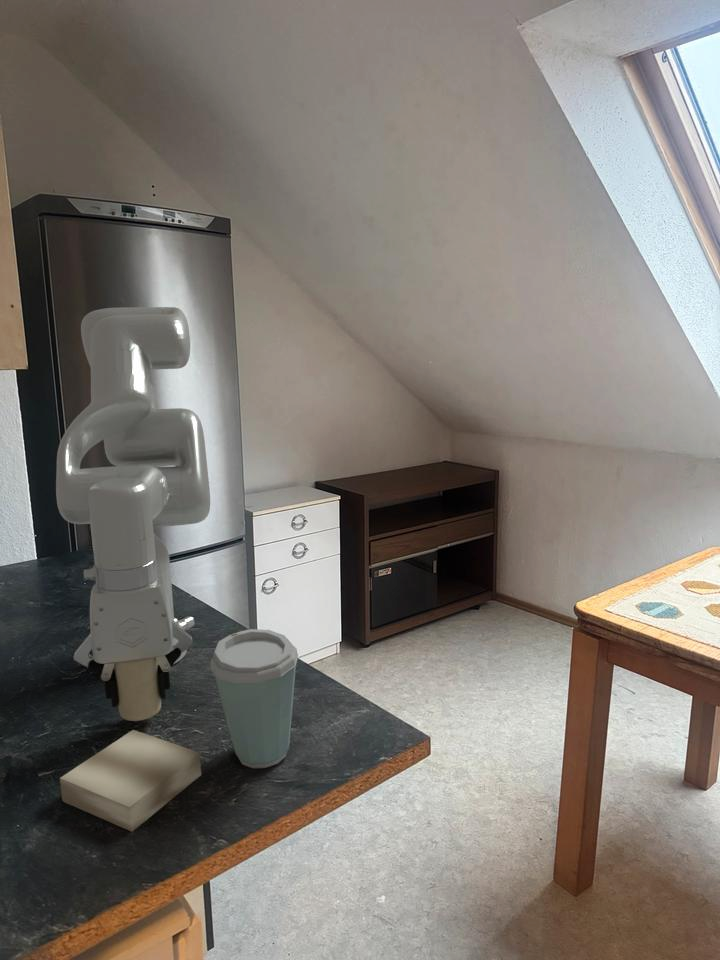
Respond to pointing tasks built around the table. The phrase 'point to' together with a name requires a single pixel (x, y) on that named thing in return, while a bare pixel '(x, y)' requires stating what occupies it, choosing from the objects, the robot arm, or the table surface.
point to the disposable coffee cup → (257, 693)
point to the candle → (138, 689)
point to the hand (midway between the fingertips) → (139, 696)
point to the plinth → (131, 779)
